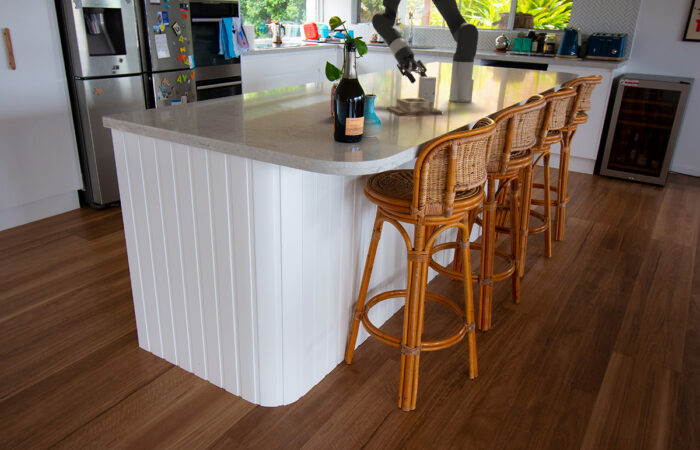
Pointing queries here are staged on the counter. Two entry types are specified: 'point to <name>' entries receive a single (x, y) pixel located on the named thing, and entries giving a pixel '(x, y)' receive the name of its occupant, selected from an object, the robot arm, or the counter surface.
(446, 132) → the counter surface
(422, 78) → the skincare box
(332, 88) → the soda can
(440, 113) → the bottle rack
